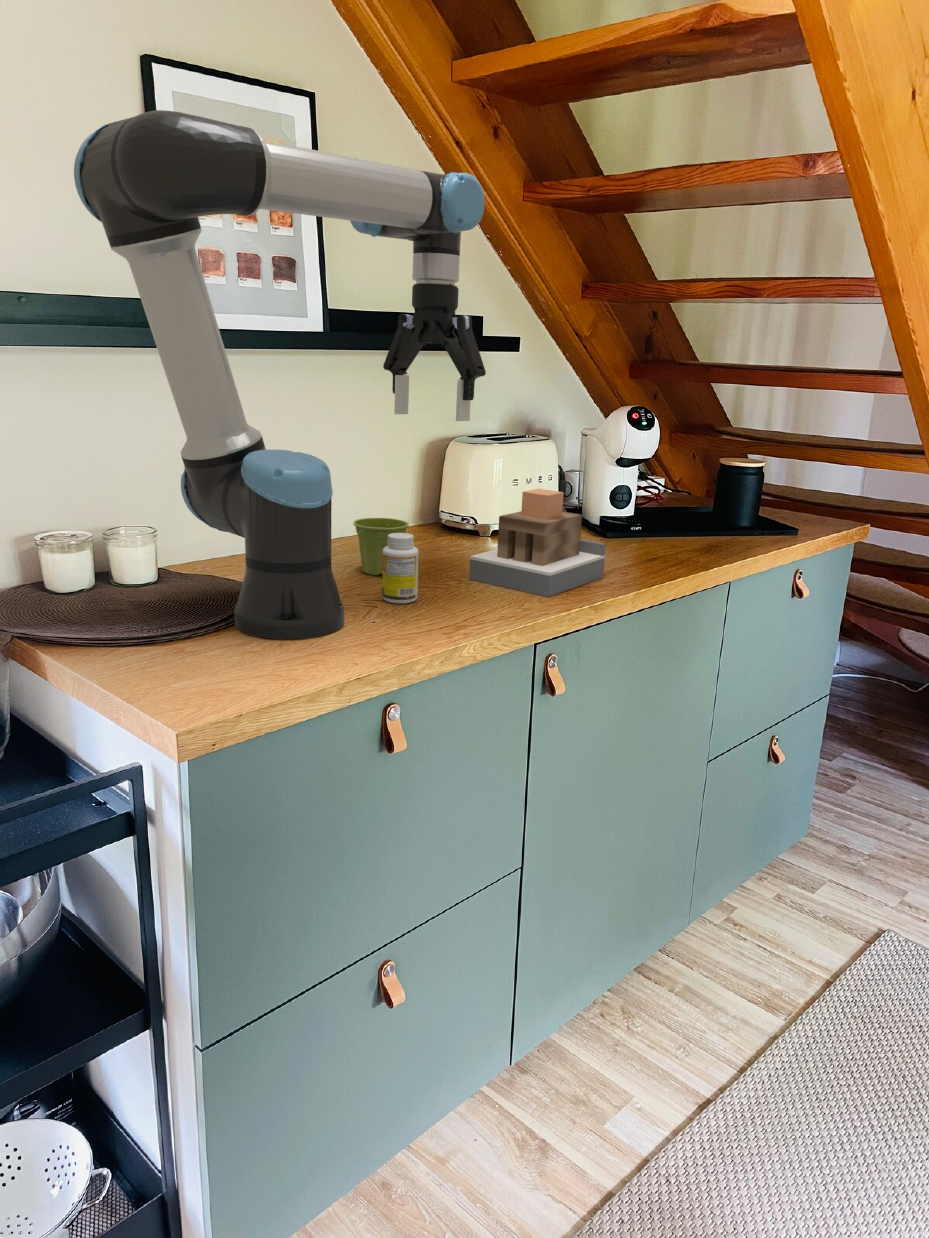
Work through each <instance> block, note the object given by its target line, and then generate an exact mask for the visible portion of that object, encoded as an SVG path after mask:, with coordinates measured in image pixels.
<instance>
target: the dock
mask: <svg viewBox="0 0 929 1238" xmlns="http://www.w3.org/2000/svg"><path fill="white" fill-rule="evenodd" d="M606 547H607V544H606V543H603V542H599V541H598V542H597V541H592V540H588V539H582V538H580V548H579V555H576V556H573V557H569V558H566V559H563V560H560V561H557V562H553V563H550V564H547V565H544V566H539V565H534V564H532V560H531V561H527V562H520V561H515V560H514V557H512V558H508V559H505V558H500V557H497V551H498V548H494V549H493V550H488V551H484V552H481V553H476V554H474V555H469V569H468V571H469V573H468V575H469V576H468V579H469V580H472V581H477V582H480V583H485V584H490V585H494V586H498V587H504V588H506V589H507V588H508V589H511V590H515V591H516V590H517V591H521V592H524V593H528V594H533V595H537V596H538V595H539V596H541V597H545V598H546V597H547V598H550V597H553V596H555V595H558V594H561V593H563V592H566V591H569V590H571V589H574V588H577V587H580V586H583V585H586V584H589V583H591V582H594V581H596V580H599V579H602V578H604V571H605V559H606Z"/></svg>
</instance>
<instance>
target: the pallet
mask: <svg viewBox="0 0 929 1238" xmlns="http://www.w3.org/2000/svg"><path fill="white" fill-rule="evenodd" d="M521 511H522V510H520V511H517V512H512V513H508V514H503V515H499V517H498V533H497V534H498V536H497V549H498V551H497V557H500V558H505V559H508V558H512V557H514V560H515V561H520V562H527V561H531V560H532V564H534V565H539V566H544V565H547V564H550V563H553V562H557V561H560V560H563V559H566V558H569V557H573V556H576V555H579V548H580V539H581V535H582V534H581V531H582V522H583V521H582V520H583V514H580V513H573V512H567V511H566V512H562V516H559V517H555V518H551V519H547V520H546V519H540V518H534V517H528V516H522V515H521Z"/></svg>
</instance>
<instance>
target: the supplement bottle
mask: <svg viewBox="0 0 929 1238" xmlns="http://www.w3.org/2000/svg"><path fill="white" fill-rule="evenodd" d="M414 539H415V536H414V535H413V534H411V533H408V532H407V533H392V534H389V535H388V541H387V543H388V546H386V547H384V549H383V552H382V574H381V576H382V580H381V582H382V583H381V585H382V586H381V587H382V589H381V590H382V591H381V596H382V599H383V600H384V601H385V602H387V603H391V604H401V605H402V604H411V603H413V602H416V601H417V599H418V595H419V559H420V558H419V548H417V547H416V546H414V545H415V540H414Z"/></svg>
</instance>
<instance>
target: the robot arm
mask: <svg viewBox="0 0 929 1238" xmlns="http://www.w3.org/2000/svg"><path fill="white" fill-rule="evenodd" d="M73 180H74V185H75V189H76V192H77V194H78V197H79V200H80V201H81V203H82V204H83V206H84V207H85V208H86V210H87V211H88V212H89V214H90V215H91V216H92V217H94V218H95V219H96V220H97V221H99V222H101V224H102V226H103V230H104V233H105V236H106V238H107V241H108V244H109V247H110V249H111V251H113V252H114V253H116V254H117V255H119V256H120V257H122V258H124V259H125V260H126V261H127V263H128V265H129V268H130V270H131V274H132V276H133V279H134V282H135V287H136V289H137V291H138V295H139V298H140V300H141V304H142V306H143V311H144V313H145V316H146V320H147V322H148V325H149V328H150V330H151V334H152V336H153V340H154V343H155V346H156V350H157V352H158V356H159V358H160V361H161V364H162V367H163V370H164V373H165V376H166V380H167V382H168V385H169V388H170V391H171V394H172V397H173V400H174V403H175V406H176V407H175V408H177V409H176V410H177V413H178V414H179V415H178V416H179V418H180V421H181V425H182V427H183V430H184V433H185V435H186V441H185V443H184V445H183V447H182V448H181V451H180V457H181V459H182V463H183V465H184V467H183V468H184V470H183V473H182V474H181V477H180V491H181V495H182V498H183V501H184V503H185V505H186V507H187V509H188V510H189V512H191V514H192V515H193V516H194V517H195V518H196V519H198V520H199V521H201V522H202V523H204V524H206V525H207V526H208V527H209V528H212V529H215V530H217V531H220V532H223V533H230V534H231V535H232V534H233V535H235V536H238V537H241V538H244V549H245V550H244V554H245V572H244V576H243V579H242V580H243V581H242V585H241V588H240V591H239V596H238V601H237V602H236V604H235V606H234V611H233V612H234V613H233V616H234V627H235V628H236V629H237V630H238V631H240V632H241V633H244V634H246V635H250V636H254V637H257V638H258V637H259V638H264V639H265V638H266V639H276V640H277V639H278V640H279V639H280V640H294V639H295V640H298V639H309V638H315V637H320V636H321V637H322V636H325V635H328V634H331V633H333V632H336V631H338V630H340V629H341V628H343V626H344V624H345V606H344V603H343V601H342V600H341V599H340V593H339V588H338V585H337V583H336V580H335V576H334V573H333V570H332V568H333V567H332V498H333V497H332V496H333V494H334V493H333V488H332V487H333V485H332V478H331V470H330V467H329V465H327V463H326V462H325V461H324V460H322V459H321V458H318V457H317V456H315V455H311V454H309V453H304V452H302V451H301V452H300V451H297V452H296V451H292V450H289V449H288V450H287V449H266V445H265V443H264V439H263V435H262V432H261V431H260V430H258V429H256V428H255V427H253V426H251V425H250V424H249V423H248V422H247V419H246V416H245V412H244V410H243V409H244V408H243V406H242V403H241V399H240V396H239V392H238V390H237V386H236V382H235V379H234V375H233V372H232V369H231V366H230V362H229V359H228V355H227V353H226V352H227V351H226V348H225V345H224V342H223V339H222V335H221V332H220V328H219V325H218V321H217V319H216V315H215V311H214V308H213V305H212V301H211V298H210V295H209V291H208V288H207V285H206V281H205V278H204V275H203V271H202V267H201V264H200V261H199V257H198V254H197V251H196V243H197V241H198V239H199V237H200V235H201V233H202V231H203V230H202V227H201V226H202V225H201V223H200V219H199V218H201V217H207V216H214V215H215V216H217V215H235V216H236V215H237V216H243V217H244V216H245V217H249V216H253V215H254V214H256V213H257V212H258V210H267V211H274V212H275V211H276V212H281V213H289V214H290V213H291V214H297V215H298V214H299V215H306V216H314V217H320V218H326V219H327V218H328V219H330V218H331V219H337V220H343V221H344V220H345V221H349V222H350V224H351V225H352V226H351V227H353V229H354V230H355V231H357V232H358V233H360V234H364V235H369V236H371V237H373V238H376V237H380V238H381V237H383V238H390V239H397V240H398V239H399V240H406V241H412V243H413V244H412V245H413V246H412V247H413V249H412V251H413V252H412V253H413V254H412V255H413V257H412V280H413V281H415V283H414V284H413V285H412V288H411V306H412V308H413V309H414V313H413V314H406V313H405V314H404V313H400V314H399V315H398V320H397V328H396V331H395V334H394V336H393V339H392V341H391V344H390V346H389V349H388V352H387V355H386V358H385V360H384V362H383V370H385V371H388V372H390V373H391V374H392V388H391V390H392V394H394V412H393V413H394V415H408V414H409V398H410V397H409V393H410V392H409V391H410V389H409V388H410V375H408V374H409V373H408V372H407V371H408V369H409V368H410V367H411V365H412V363H413V362H414V360H415V359H416V357H417V356H418V354H419V353H420V352H421V350H422V348H423V347H424V346H426V345H427V344H436V345H437V344H438V345H441V346H442V347H443V348H444V349H445V351H446V353H447V354H448V356H449V357H450V359H451V361H452V363H453V365H454V367H455V368H456V370H457V372H458V374H459V375H460V377H459V379H457V382H456V404H455V405H456V407H455V409H456V410H455V421H456V422H470V419H471V418H470V417H471V401H474V398H475V384H476V383H475V382H476V379H478V378H480V377H485V375H486V373H487V372H486V369H485V365H484V362H483V359H482V357H481V353H480V350H479V347H478V343H477V340H476V337H475V334H474V331H473V319H472V316H470V315H460V314H459V315H458V316H456V311H457V309H458V307H459V291H460V290H459V287H458V286H457V285H456V283H458V282H459V280H460V257H461V256H460V255H461V240H462V239H461V238H462V236H461V235H462V232H466V231H470V230H472V229H474V228H476V226H478V225H479V223H480V222H481V220H482V218H483V215H484V211H485V192H484V190H483V187H482V185H481V183H480V182H479V180H478V179H477V178H476V177H475V176H474V175H472V174H470V173H467V172H455V171H451V172H449V173H447V174H445V173H435V172H432V171H431V172H430V171H426V170H425V171H424V170H418V169H415V168H408V167H404V166H401V165H400V166H399V165H393V164H388V163H382V162H378V161H373V160H368V159H362V158H358V157H357V158H356V157H354V156H353V157H352V156H347V155H341V154H337V153H331V152H325V151H322V150H317V149H312V148H311V149H310V148H306V147H301V146H296V145H292V144H291V145H290V144H285V143H279V142H273V141H268V140H264V139H263V138H262V136H261V135H260V134H259V132H258V130H257V131H256V129H254V128H251V127H247V126H242V125H236V124H233V123H229V122H224V121H220V120H217V119H214V118H213V119H212V118H208V117H204V116H199V115H195V114H190V113H184V112H180V111H171V110H161V109H160V110H159V109H157V110H150V111H146V112H142V113H139V114H138V115H135V116H131V117H129V118H125V119H121V120H118V121H117V120H116V121H113V122H110V123H107V124H104V125H102V126H101V127H99V128H97V129H96V130H94V131H93V132H92V133H90V134H89V135H88V136H87V137H86V138H85V139H84V140H83V142H82V143H81V144H80V147H79V149H78V151H77V153H76V156H75V159H74V165H73ZM413 328H414V330H413ZM455 329H456V330H457V335H458V336H457V335H456V333H455V331H454V330H455ZM459 342H460V343H459Z"/></svg>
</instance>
